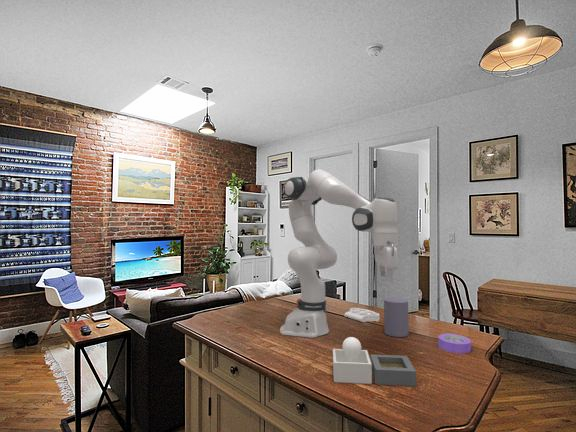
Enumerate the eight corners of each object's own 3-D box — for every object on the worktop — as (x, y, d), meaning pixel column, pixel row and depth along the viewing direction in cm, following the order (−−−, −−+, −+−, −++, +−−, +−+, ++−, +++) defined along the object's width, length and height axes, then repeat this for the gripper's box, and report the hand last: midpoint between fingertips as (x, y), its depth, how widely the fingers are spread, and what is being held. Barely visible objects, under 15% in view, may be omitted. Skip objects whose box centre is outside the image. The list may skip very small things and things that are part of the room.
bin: (333, 382, 105) (333, 362, 105) (333, 366, 116) (332, 348, 116) (371, 383, 103) (371, 364, 103) (367, 367, 115) (367, 350, 115)
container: (410, 338, 144) (409, 303, 144) (385, 336, 146) (384, 302, 146) (406, 330, 154) (406, 297, 154) (383, 329, 156) (383, 297, 156)
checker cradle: (375, 384, 103) (375, 369, 103) (370, 367, 115) (370, 354, 115) (416, 386, 102) (416, 371, 102) (406, 369, 114) (406, 355, 114)
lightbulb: (340, 367, 113) (340, 334, 113) (358, 367, 113) (358, 334, 113) (345, 375, 107) (344, 340, 107) (364, 375, 107) (363, 340, 107)
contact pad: (382, 375, 105) (382, 372, 105) (378, 365, 112) (378, 362, 112) (406, 376, 104) (406, 373, 104) (401, 366, 111) (401, 363, 111)
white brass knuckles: (339, 316, 178) (358, 312, 187) (366, 325, 164) (385, 319, 173) (339, 310, 178) (358, 306, 187) (366, 318, 164) (385, 313, 173)
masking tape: (475, 348, 133) (475, 338, 133) (465, 356, 125) (464, 346, 125) (445, 340, 141) (445, 331, 141) (433, 348, 133) (433, 338, 133)
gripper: (402, 242, 113) (403, 283, 113) (387, 239, 134) (387, 274, 134) (383, 242, 114) (384, 283, 113) (371, 239, 134) (371, 274, 134)
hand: (386, 278), depth 124 cm, fingers open, 8 cm apart
